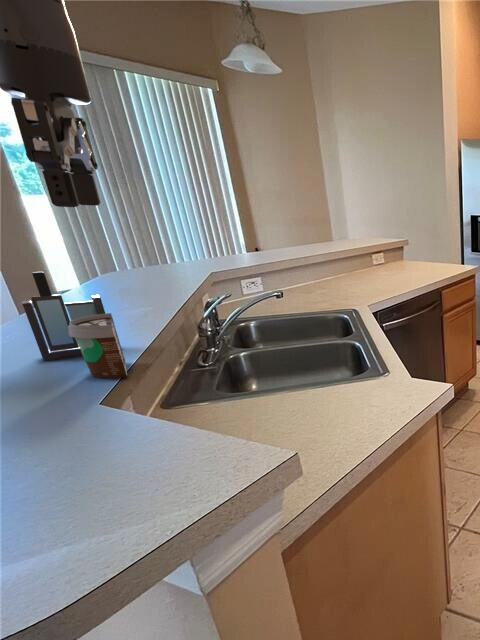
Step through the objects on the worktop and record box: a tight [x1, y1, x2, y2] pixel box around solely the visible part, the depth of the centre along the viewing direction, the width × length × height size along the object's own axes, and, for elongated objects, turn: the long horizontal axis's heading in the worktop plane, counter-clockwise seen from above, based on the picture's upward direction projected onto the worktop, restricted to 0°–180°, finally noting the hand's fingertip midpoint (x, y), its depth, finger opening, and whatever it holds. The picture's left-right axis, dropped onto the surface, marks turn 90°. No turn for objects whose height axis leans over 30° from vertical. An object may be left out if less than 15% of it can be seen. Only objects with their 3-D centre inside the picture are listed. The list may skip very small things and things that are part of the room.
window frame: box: [21, 294, 106, 362], centre depth 90 cm, size 11×3×12 cm, turn 136°
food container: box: [68, 313, 128, 380], centre depth 81 cm, size 12×6×10 cm, turn 40°
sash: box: [30, 271, 79, 351], centre depth 87 cm, size 4×1×15 cm, turn 136°
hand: (78, 206), depth 55 cm, fingers open, 8 cm apart
